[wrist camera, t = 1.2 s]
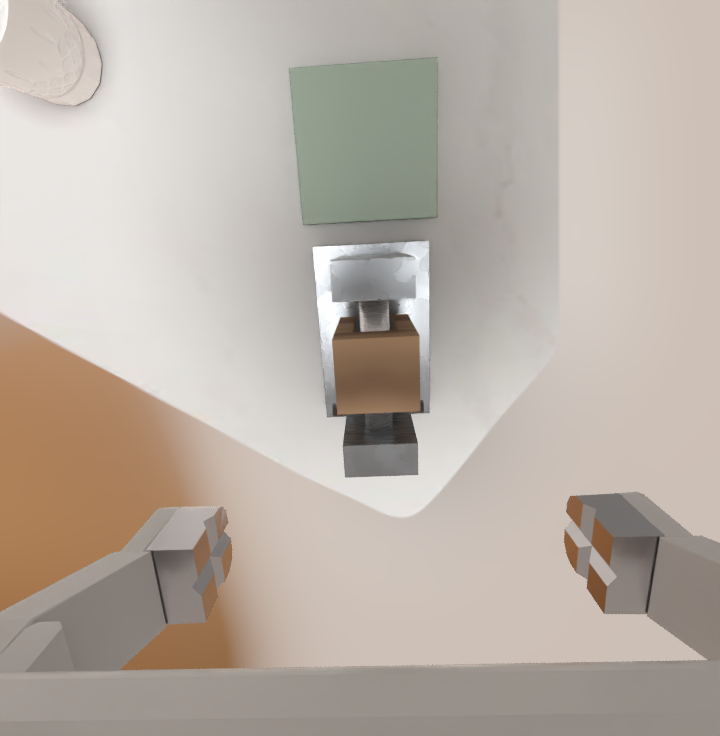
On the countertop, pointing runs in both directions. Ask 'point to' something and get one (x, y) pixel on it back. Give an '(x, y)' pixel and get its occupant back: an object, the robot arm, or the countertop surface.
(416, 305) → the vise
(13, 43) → the white cup
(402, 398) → the wooden block
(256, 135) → the countertop surface
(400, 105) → the mat
